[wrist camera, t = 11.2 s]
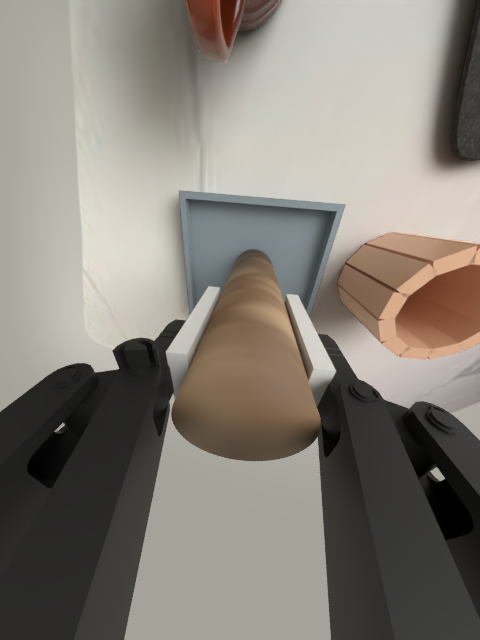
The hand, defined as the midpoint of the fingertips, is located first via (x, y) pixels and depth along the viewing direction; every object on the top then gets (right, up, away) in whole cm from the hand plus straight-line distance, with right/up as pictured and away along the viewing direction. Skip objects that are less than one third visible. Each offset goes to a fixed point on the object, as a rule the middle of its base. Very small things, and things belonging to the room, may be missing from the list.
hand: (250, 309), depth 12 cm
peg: (+1, +5, +9) cm, 10 cm away
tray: (+1, +6, +10) cm, 12 cm away
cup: (+17, +4, +10) cm, 20 cm away
